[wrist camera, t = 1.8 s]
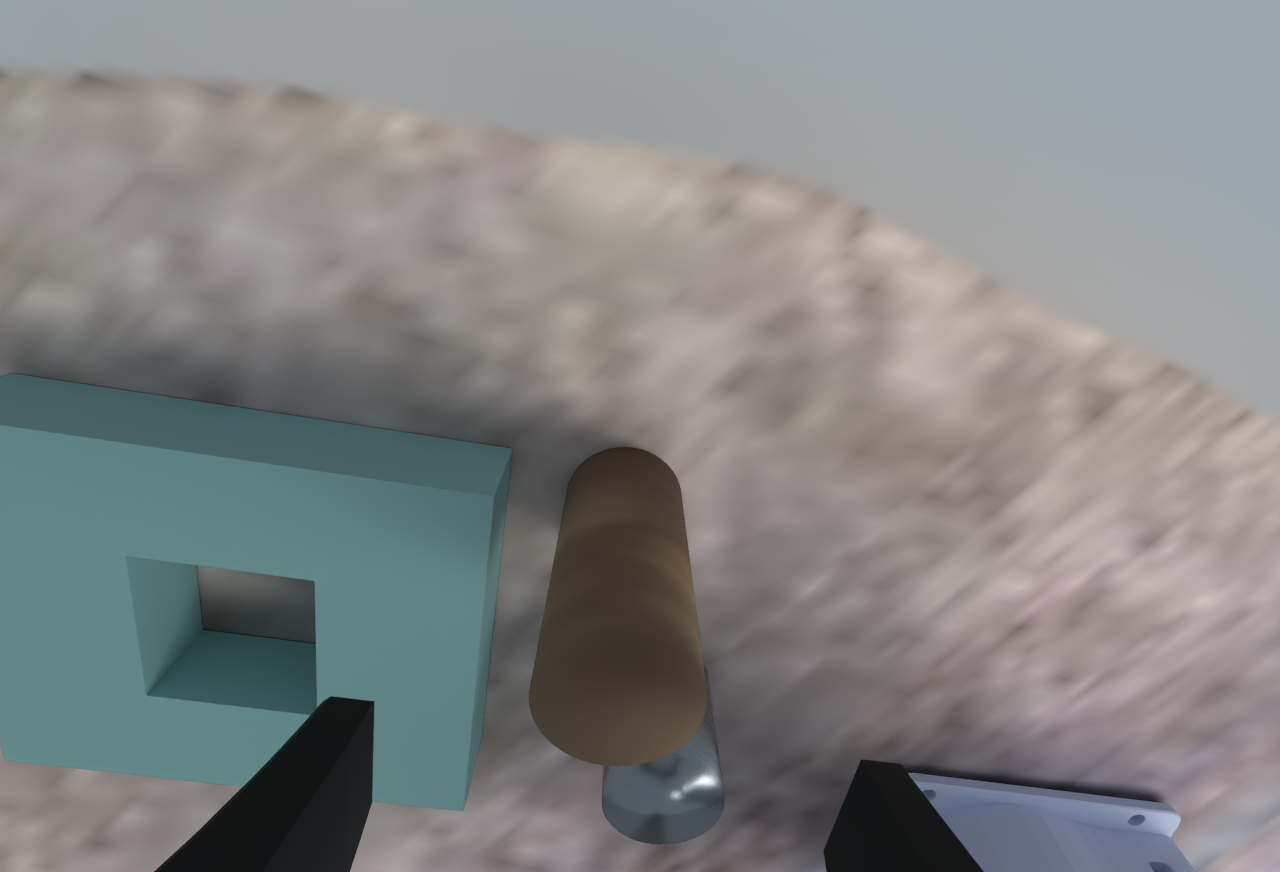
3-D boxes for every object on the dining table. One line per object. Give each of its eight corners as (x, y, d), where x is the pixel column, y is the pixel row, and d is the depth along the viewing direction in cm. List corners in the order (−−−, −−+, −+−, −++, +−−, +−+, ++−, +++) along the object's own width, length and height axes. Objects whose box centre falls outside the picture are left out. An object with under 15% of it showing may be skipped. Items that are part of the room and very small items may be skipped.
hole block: (512, 448, 18) (494, 496, 15) (481, 738, 22) (463, 811, 19) (10, 372, 17) (-89, 412, 14) (74, 690, 21) (4, 760, 18)
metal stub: (718, 650, 20) (736, 766, 17) (697, 727, 21) (710, 850, 18) (616, 637, 20) (611, 751, 16) (601, 714, 21) (593, 837, 18)
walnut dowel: (692, 456, 18) (724, 643, 11) (669, 555, 19) (688, 775, 12) (574, 439, 17) (539, 618, 11) (559, 540, 19) (520, 755, 12)
